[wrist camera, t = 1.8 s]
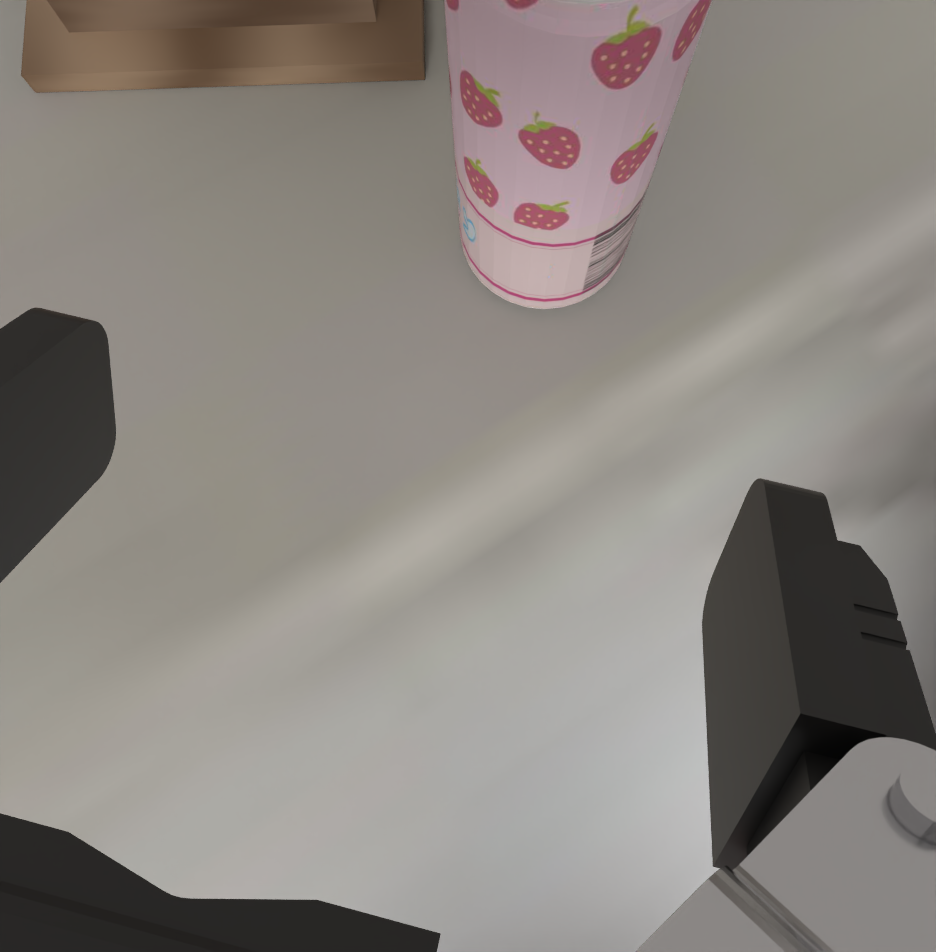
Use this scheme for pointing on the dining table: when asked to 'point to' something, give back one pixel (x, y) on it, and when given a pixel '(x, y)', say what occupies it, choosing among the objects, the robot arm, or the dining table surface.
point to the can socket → (219, 43)
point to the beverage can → (560, 133)
